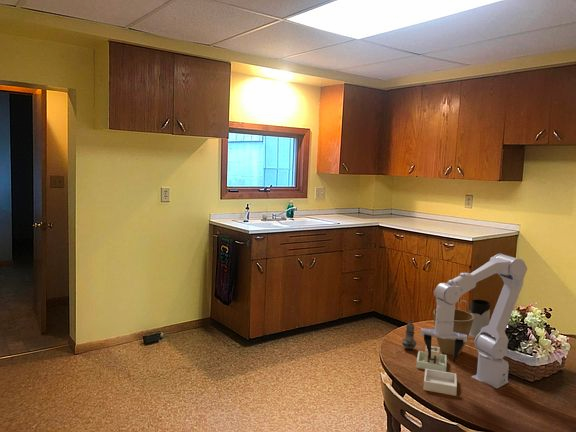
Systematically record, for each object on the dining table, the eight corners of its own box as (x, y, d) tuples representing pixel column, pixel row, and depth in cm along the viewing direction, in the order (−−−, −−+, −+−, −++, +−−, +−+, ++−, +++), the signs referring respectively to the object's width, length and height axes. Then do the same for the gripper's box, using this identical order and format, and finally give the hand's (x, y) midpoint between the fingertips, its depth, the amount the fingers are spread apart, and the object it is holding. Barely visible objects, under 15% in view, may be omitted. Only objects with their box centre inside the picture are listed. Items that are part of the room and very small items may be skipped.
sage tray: (445, 362, 175) (446, 355, 174) (445, 374, 165) (446, 366, 165) (417, 358, 178) (418, 350, 178) (416, 369, 168) (416, 361, 168)
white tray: (455, 382, 159) (456, 373, 159) (456, 395, 150) (456, 386, 149) (424, 376, 163) (425, 368, 162) (423, 389, 153) (423, 381, 153)
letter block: (424, 360, 175) (425, 344, 174) (438, 362, 173) (439, 346, 172) (424, 366, 170) (425, 349, 169) (438, 368, 168) (439, 352, 167)
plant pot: (423, 351, 185) (426, 312, 183) (443, 342, 195) (446, 305, 193) (458, 364, 174) (461, 322, 172) (477, 354, 184) (480, 315, 182)
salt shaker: (416, 353, 182) (418, 324, 181) (401, 352, 183) (403, 322, 182) (415, 348, 188) (417, 319, 186) (400, 346, 189) (402, 318, 188)
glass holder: (483, 340, 199) (486, 306, 197) (452, 330, 209) (455, 298, 207) (492, 335, 205) (495, 302, 203) (462, 326, 215) (464, 295, 213)
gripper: (421, 320, 152) (418, 360, 154) (468, 326, 147) (465, 367, 149) (422, 313, 159) (419, 352, 160) (467, 319, 154) (464, 359, 156)
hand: (441, 359), depth 155 cm, fingers open, 7 cm apart
